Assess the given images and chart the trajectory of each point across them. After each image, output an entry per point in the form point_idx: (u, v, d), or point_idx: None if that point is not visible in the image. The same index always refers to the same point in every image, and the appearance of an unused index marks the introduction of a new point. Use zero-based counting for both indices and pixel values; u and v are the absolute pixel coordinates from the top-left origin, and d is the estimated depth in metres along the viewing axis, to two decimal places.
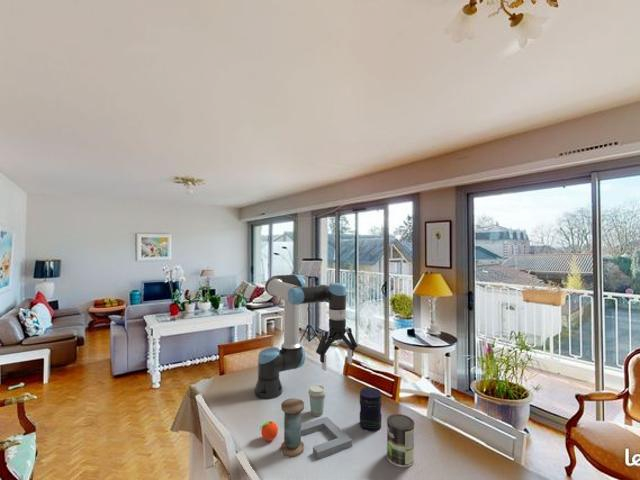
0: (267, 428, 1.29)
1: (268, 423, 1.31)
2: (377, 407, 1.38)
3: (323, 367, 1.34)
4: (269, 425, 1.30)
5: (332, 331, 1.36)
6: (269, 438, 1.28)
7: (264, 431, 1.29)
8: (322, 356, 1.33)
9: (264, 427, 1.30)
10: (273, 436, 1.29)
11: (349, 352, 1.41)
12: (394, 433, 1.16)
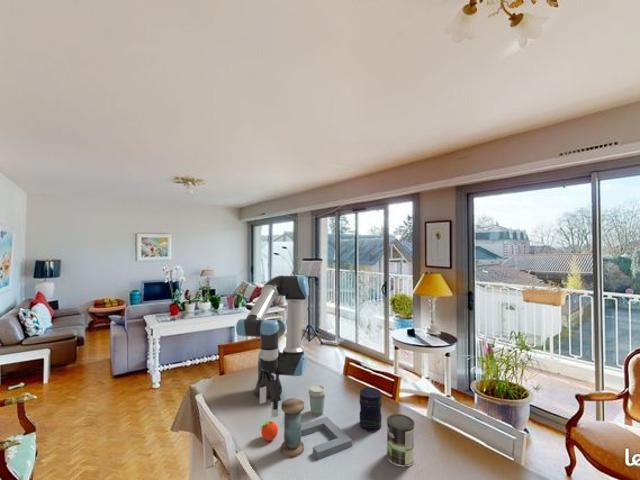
0: (267, 428, 1.29)
1: (268, 423, 1.31)
2: (377, 407, 1.38)
3: None
4: (269, 425, 1.30)
5: None
6: (269, 438, 1.28)
7: (264, 431, 1.28)
8: (260, 387, 1.38)
9: (264, 427, 1.30)
10: (273, 436, 1.29)
11: None
12: (394, 433, 1.16)
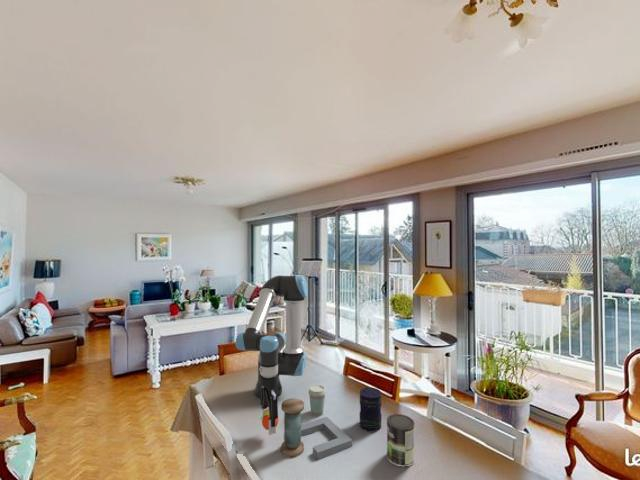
0: None
1: (268, 413, 1.31)
2: (377, 407, 1.38)
3: None
4: (269, 415, 1.30)
5: None
6: None
7: (265, 421, 1.29)
8: (263, 409, 1.35)
9: (265, 417, 1.30)
10: None
11: None
12: (394, 432, 1.16)
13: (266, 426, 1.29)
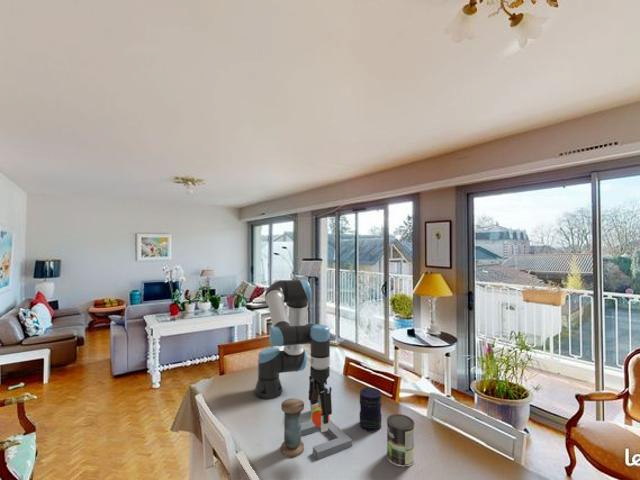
0: (319, 414, 1.19)
1: (319, 409, 1.21)
2: (377, 407, 1.38)
3: None
4: (321, 411, 1.20)
5: None
6: None
7: (316, 417, 1.18)
8: (312, 404, 1.25)
9: (315, 413, 1.19)
10: None
11: None
12: (394, 433, 1.16)
13: (317, 423, 1.18)
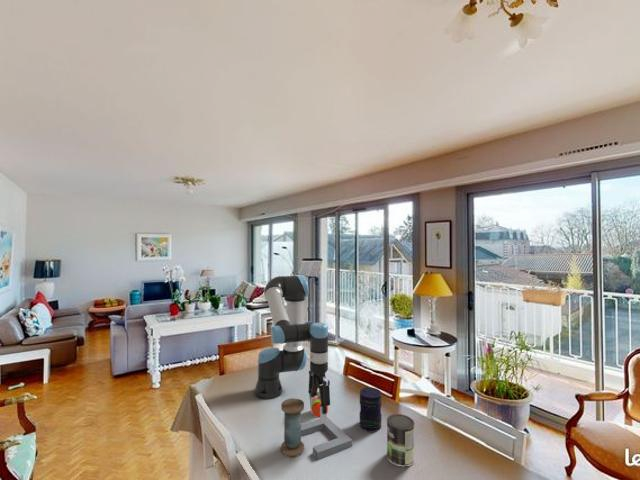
0: (318, 405, 1.28)
1: (318, 401, 1.30)
2: (377, 407, 1.38)
3: None
4: (320, 402, 1.29)
5: None
6: None
7: (315, 408, 1.28)
8: None
9: (315, 404, 1.29)
10: None
11: None
12: (394, 433, 1.16)
13: (317, 413, 1.28)
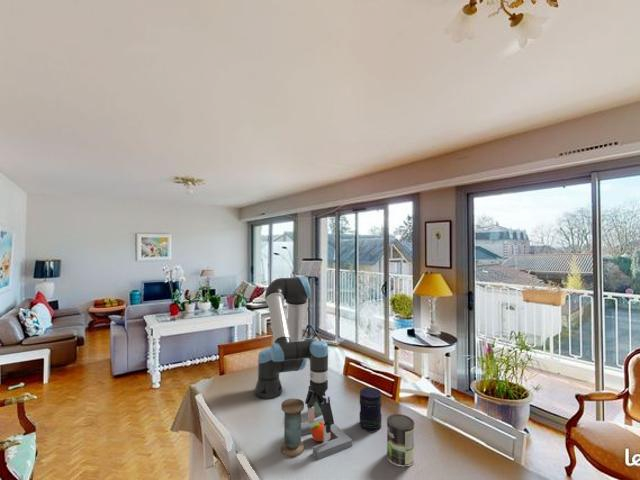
0: (318, 429, 1.28)
1: (318, 424, 1.30)
2: (377, 407, 1.38)
3: None
4: (320, 426, 1.29)
5: None
6: (320, 439, 1.28)
7: (315, 432, 1.28)
8: None
9: (315, 428, 1.29)
10: None
11: None
12: (394, 433, 1.16)
13: (317, 437, 1.27)
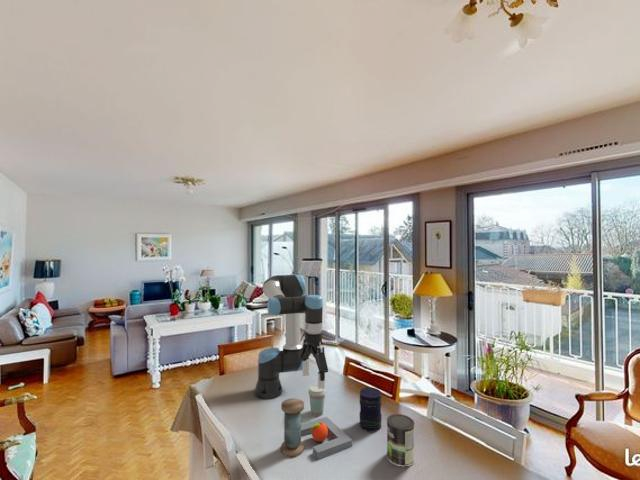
0: (318, 429, 1.28)
1: (318, 424, 1.30)
2: (377, 407, 1.38)
3: None
4: (320, 426, 1.29)
5: (307, 341, 1.36)
6: (320, 439, 1.28)
7: (315, 432, 1.28)
8: (303, 361, 1.40)
9: (315, 428, 1.29)
10: (324, 437, 1.28)
11: None
12: (394, 433, 1.16)
13: (317, 437, 1.27)
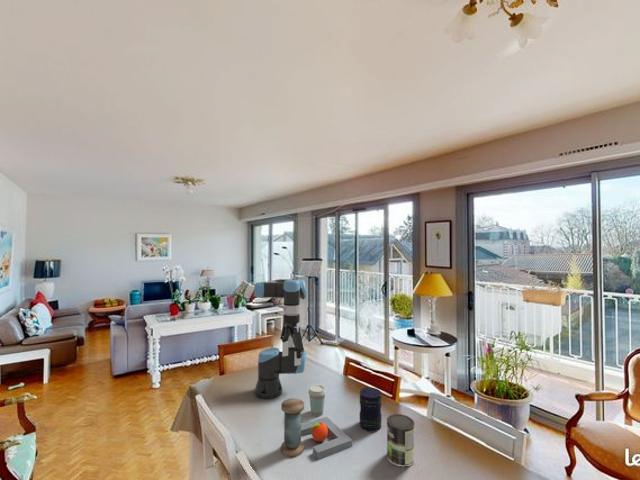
0: (318, 429, 1.28)
1: (318, 424, 1.30)
2: (377, 407, 1.38)
3: None
4: (320, 426, 1.29)
5: (286, 323, 1.46)
6: (320, 439, 1.28)
7: (315, 432, 1.28)
8: None
9: (315, 428, 1.29)
10: (324, 437, 1.28)
11: None
12: (394, 432, 1.16)
13: (317, 437, 1.27)
